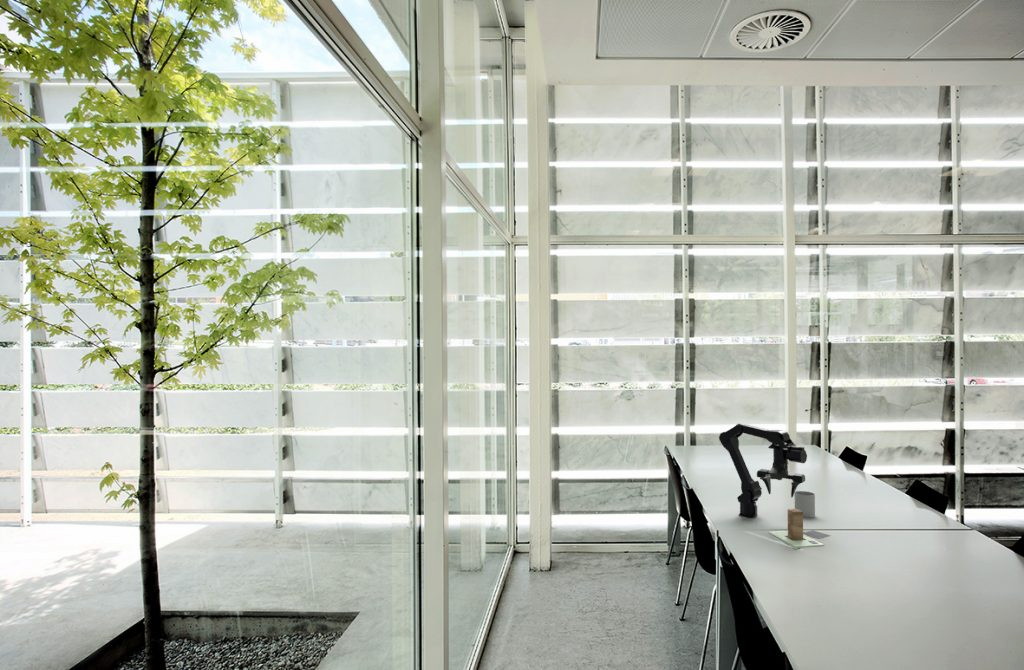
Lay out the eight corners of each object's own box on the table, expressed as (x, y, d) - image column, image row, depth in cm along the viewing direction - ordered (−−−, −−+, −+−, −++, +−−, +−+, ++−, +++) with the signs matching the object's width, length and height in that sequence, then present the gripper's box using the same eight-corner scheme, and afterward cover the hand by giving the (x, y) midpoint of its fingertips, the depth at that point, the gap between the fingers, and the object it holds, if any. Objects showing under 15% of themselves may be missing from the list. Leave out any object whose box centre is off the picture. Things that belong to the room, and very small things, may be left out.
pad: (800, 534, 248) (800, 533, 248) (812, 531, 252) (812, 530, 252) (818, 540, 241) (818, 538, 241) (831, 537, 245) (831, 535, 245)
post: (787, 539, 243) (787, 509, 243) (796, 538, 244) (796, 508, 244) (793, 542, 239) (793, 512, 239) (803, 541, 240) (802, 511, 240)
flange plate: (768, 534, 249) (768, 531, 249) (795, 532, 251) (795, 529, 251) (795, 549, 232) (795, 545, 232) (824, 547, 234) (824, 544, 234)
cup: (803, 518, 270) (803, 496, 270) (790, 513, 278) (790, 491, 278) (819, 517, 273) (819, 494, 273) (805, 512, 280) (805, 490, 281)
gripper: (752, 460, 264) (752, 495, 264) (798, 465, 252) (798, 503, 252) (760, 456, 272) (760, 490, 272) (805, 461, 260) (805, 497, 260)
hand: (780, 495), depth 264 cm, fingers open, 9 cm apart
